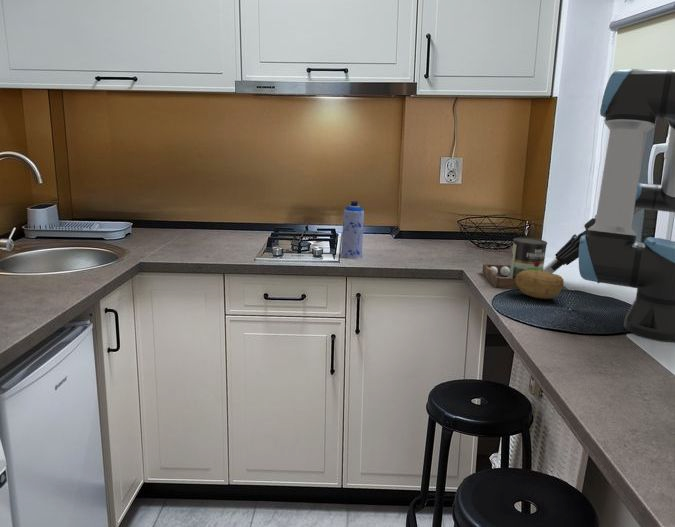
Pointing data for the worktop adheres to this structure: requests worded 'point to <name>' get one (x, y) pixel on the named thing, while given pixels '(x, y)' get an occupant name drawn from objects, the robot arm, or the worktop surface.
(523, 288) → the potato
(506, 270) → the pebble
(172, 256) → the worktop surface
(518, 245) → the coffee can
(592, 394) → the worktop surface
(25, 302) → the worktop surface
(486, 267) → the tray frame
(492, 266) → the pebble
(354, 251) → the aerosol can
